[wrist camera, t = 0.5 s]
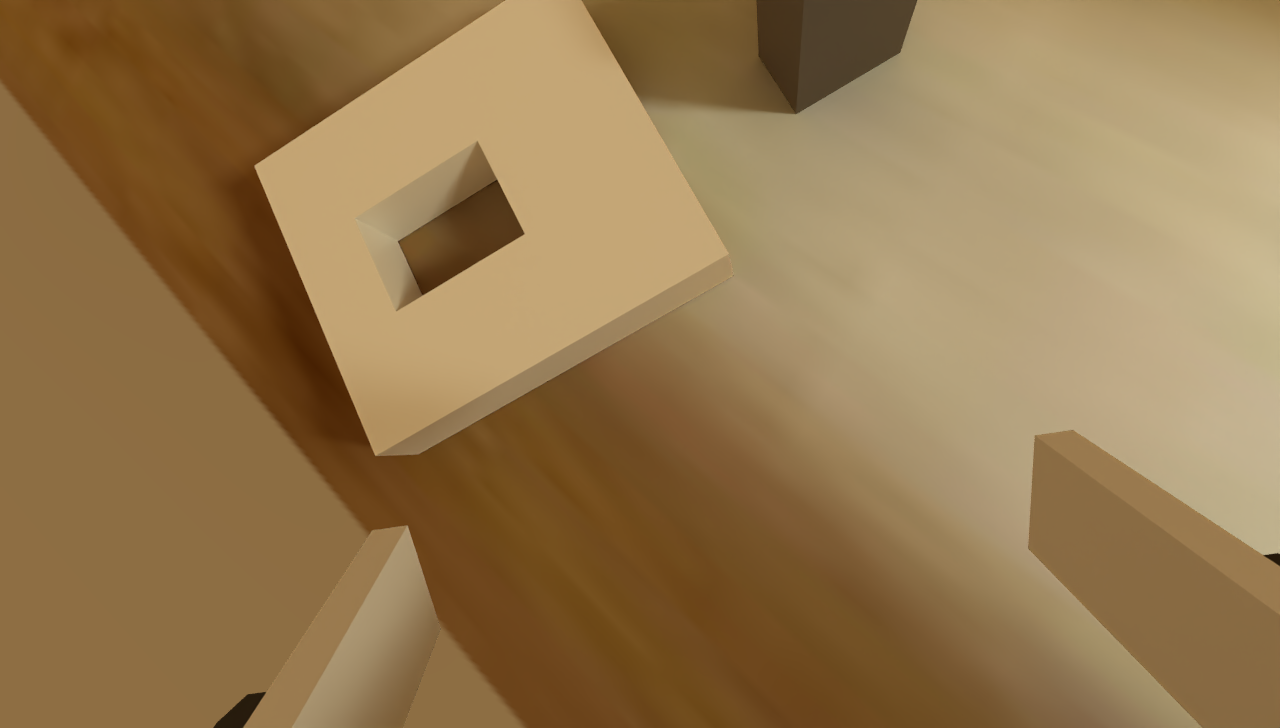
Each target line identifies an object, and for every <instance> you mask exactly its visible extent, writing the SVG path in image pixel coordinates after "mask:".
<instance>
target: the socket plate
mask: <svg viewBox="0 0 1280 728" xmlns="http://www.w3.org/2000/svg"><path fill="white" fill-rule="evenodd" d="M254 167H255V169H256V171H257V174H258V176H259V179H260V181H261V183H262V186H263V188H264V190H265V193H266V195H267V198H268V200H269V202H270V205H271V207H272V210H273V212H274V214H275V217H276V219H277V222H278V224H279V226H280V229H281V231H282V234H283V236H284V238H285V241H286V243H287V246H288V248H289V250H290V253H291V255H292V258H293V260H294V262H295V265H296V267H297V270H298V272H299V274H300V277H301V279H302V282H303V284H304V286H305V289H306V291H307V293H308V296H309V298H310V301H311V303H312V305H313V308H314V310H315V313H316V315H317V317H318V320H319V322H320V325H321V327H322V329H323V332H324V334H325V337H326V339H327V341H328V344H329V346H330V349H331V351H332V353H333V356H334V358H335V361H336V363H337V365H338V368H339V370H340V373H341V375H342V377H343V380H344V382H345V384H346V387H347V389H348V392H349V394H350V396H351V399H352V401H353V404H354V406H355V408H356V411H357V413H358V416H359V418H360V420H361V423H362V425H363V428H364V430H365V432H366V435H367V437H368V440H369V442H370V444H371V447H372V449H373V452H374V454H375V456H388V455H414V454H420V453H422V452H423V451H425V450H427V449H429V448H431V447H432V446H434V445H436V444H438V443H439V442H441V441H443V440H445V439H446V438H448V437H450V436H452V435H453V434H455V433H457V432H459V431H461V430H462V429H464V428H466V427H468V426H469V425H471V424H473V423H475V422H476V421H478V420H480V419H482V418H484V417H485V416H487V415H489V414H491V413H492V412H494V411H496V410H498V409H499V408H501V407H503V406H505V405H506V404H508V403H510V402H512V401H514V400H515V399H517V398H519V397H521V396H522V395H524V394H526V393H528V392H529V391H531V390H533V389H535V388H536V387H538V386H540V385H542V384H544V383H545V382H547V381H549V380H551V379H552V378H554V377H556V376H558V375H559V374H561V373H563V372H565V371H567V370H568V369H570V368H572V367H574V366H575V365H577V364H579V363H581V362H582V361H584V360H586V359H588V358H589V357H591V356H593V355H595V354H597V353H598V352H600V351H602V350H604V349H605V348H607V347H609V346H611V345H612V344H614V343H616V342H618V341H619V340H621V339H623V338H625V337H627V336H628V335H630V334H632V333H634V332H635V331H637V330H639V329H641V328H642V327H644V326H646V325H648V324H650V323H651V322H653V321H655V320H657V319H658V318H660V317H662V316H664V315H665V314H667V313H669V312H671V311H672V310H674V309H676V308H678V307H680V306H681V305H683V304H685V303H687V302H688V301H690V300H692V299H694V298H695V297H697V296H699V295H701V294H703V293H704V292H706V291H708V290H710V289H711V288H713V287H715V286H717V285H718V284H720V283H722V282H724V281H725V280H727V279H729V278H731V277H733V276H734V274H733V270H732V265H731V261H730V257H729V254H728V252H727V250H726V248H725V247H724V245H723V243H722V242H721V240H720V238H719V236H718V235H717V233H716V231H715V229H714V228H713V226H712V224H711V223H710V221H709V219H708V217H707V216H706V214H705V212H704V211H703V209H702V207H701V205H700V204H699V202H698V200H697V198H696V197H695V195H694V193H693V192H692V190H691V188H690V186H689V185H688V183H687V181H686V180H685V178H684V176H683V174H682V173H681V171H680V169H679V167H678V166H677V164H676V162H675V161H674V159H673V157H672V155H671V154H670V152H669V150H668V148H667V147H666V145H665V143H664V142H663V140H662V138H661V136H660V135H659V133H658V131H657V130H656V128H655V126H654V124H653V123H652V121H651V119H650V117H649V116H648V114H647V112H646V111H645V109H644V107H643V105H642V104H641V102H640V100H639V99H638V97H637V95H636V93H635V92H634V90H633V88H632V86H631V85H630V83H629V81H628V80H627V78H626V76H625V74H624V73H623V71H622V69H621V68H620V66H619V64H618V62H617V61H616V59H615V57H614V55H613V54H612V52H611V50H610V49H609V47H608V45H607V43H606V42H605V40H604V38H603V37H602V35H601V33H600V31H599V30H598V28H597V26H596V24H595V23H594V21H593V19H592V18H591V16H590V14H589V12H588V11H587V9H586V7H585V6H584V4H583V2H582V0H505V1H504V2H502V3H501V4H499V5H498V6H496V7H495V8H493V9H492V10H490V11H489V12H487V13H486V14H484V15H483V16H481V17H479V18H478V19H476V20H475V21H473V22H472V23H470V24H469V25H467V26H466V27H464V28H463V29H461V30H460V31H458V32H457V33H455V34H454V35H452V36H451V37H449V38H448V39H446V40H445V41H443V42H442V43H440V44H438V45H437V46H435V47H434V48H432V49H431V50H429V51H428V52H426V53H425V54H423V55H422V56H420V57H419V58H417V59H416V60H414V61H413V62H411V63H410V64H408V65H407V66H405V67H404V68H402V69H401V70H399V71H397V72H396V73H394V74H393V75H391V76H390V77H388V78H387V79H385V80H384V81H382V82H381V83H379V84H378V85H376V86H375V87H373V88H372V89H370V90H369V91H367V92H366V93H364V94H363V95H361V96H360V97H358V98H357V99H355V100H353V101H352V102H350V103H349V104H347V105H346V106H344V107H343V108H341V109H340V110H338V111H337V112H335V113H334V114H332V115H331V116H329V117H328V118H326V119H325V120H323V121H322V122H320V123H319V124H317V125H316V126H314V127H312V128H311V129H309V130H308V131H306V132H305V133H303V134H302V135H300V136H299V137H297V138H296V139H294V140H293V141H291V142H290V143H288V144H287V145H285V146H284V147H282V148H281V149H279V150H278V151H276V152H275V153H273V154H271V155H270V156H268V157H267V158H265V159H264V160H262V161H261V162H259V163H258V164H256V165H255V166H254ZM496 180H498V182H499V184H500V186H501V188H502V190H503V192H504V194H505V196H506V198H507V200H508V202H509V203H510V205H511V207H512V209H513V211H514V213H515V215H516V217H517V219H518V221H519V223H520V225H521V227H522V229H523V231H524V233H525V234H524V235H523V236H521V237H519V238H518V239H516V240H514V241H513V242H511V243H509V244H508V245H506V246H504V247H503V248H501V249H499V250H498V251H496V252H494V253H493V254H491V255H489V256H488V257H486V258H484V259H483V260H481V261H479V262H478V263H476V264H474V265H473V266H471V267H469V268H468V269H466V270H464V271H463V272H461V273H459V274H458V275H456V276H454V277H453V278H451V279H450V280H448V281H446V282H445V283H443V284H441V285H440V286H438V287H436V288H435V289H433V290H431V291H430V292H428V293H426V294H425V295H422V293H421V291H420V289H419V287H418V285H417V282H416V280H415V278H414V276H413V274H412V271H411V269H410V267H409V265H408V263H407V261H406V258H405V256H404V254H403V252H402V250H401V248H400V245H399V243H398V241H399V240H400V239H402V238H404V237H405V236H407V235H408V234H410V233H412V232H413V231H415V230H417V229H418V228H420V227H421V226H423V225H425V224H426V223H428V222H429V221H431V220H433V219H434V218H436V217H438V216H439V215H441V214H442V213H444V212H446V211H447V210H449V209H450V208H452V207H454V206H455V205H457V204H459V203H460V202H462V201H463V200H465V199H467V198H468V197H470V196H471V195H473V194H475V193H476V192H478V191H480V190H481V189H483V188H484V187H486V186H488V185H489V184H491V183H492V182H494V181H496Z"/></svg>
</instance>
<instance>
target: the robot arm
mask: <svg viewBox="0 0 1280 728" xmlns="http://www.w3.org/2000/svg"><path fill="white" fill-rule="evenodd" d="M1028 549H1029V550H1030V551H1031V552H1032V553H1033V554H1034V555H1035V556H1036V557H1037V558H1038V559H1039V560H1040V561H1041V562H1042V563H1043V564H1044V565H1045V566H1046V567H1047V568H1048V569H1049V570H1050V571H1051V572H1052V573H1053V574H1054V575H1055V576H1056V578H1057V579H1058V580H1059V581H1060V582H1061V583H1062V584H1063V585H1064V586H1065V587H1066V588H1067V589H1068V590H1069V591H1070V592H1071V593H1072V594H1073V595H1074V596H1075V597H1076V598H1077V599H1078V600H1079V601H1080V602H1081V603H1082V604H1083V605H1084V606H1085V607H1086V608H1087V609H1088V610H1089V611H1090V612H1091V613H1092V615H1093V616H1094V617H1095V618H1096V619H1097V620H1098V621H1099V622H1100V623H1101V624H1102V625H1103V626H1104V627H1105V628H1106V629H1107V630H1108V631H1109V632H1110V633H1111V634H1112V635H1113V636H1114V637H1115V638H1116V639H1117V640H1118V641H1119V642H1120V643H1121V644H1122V645H1123V646H1124V647H1125V648H1126V649H1127V650H1128V652H1129V653H1130V654H1131V655H1132V656H1133V657H1134V658H1135V659H1136V660H1137V661H1138V662H1139V663H1140V664H1141V665H1142V666H1143V667H1144V668H1145V669H1146V670H1147V671H1148V672H1149V673H1150V674H1151V675H1152V676H1153V677H1154V678H1155V679H1156V680H1157V681H1158V682H1159V683H1160V684H1161V685H1162V686H1163V687H1164V689H1165V690H1166V691H1167V692H1168V693H1169V694H1170V695H1171V696H1172V697H1173V698H1174V699H1175V700H1176V701H1177V702H1178V703H1179V704H1180V705H1181V706H1182V707H1183V708H1184V709H1185V710H1186V711H1187V712H1188V713H1189V714H1190V715H1191V716H1192V717H1193V718H1194V719H1195V720H1196V721H1197V722H1198V723H1199V724H1200V725H1201V727H1202V728H1280V554H1279V553H1276V554H1269V555H1262V554H1260V553H1259V552H1257V551H1256V550H1254V549H1253V548H1251V547H1250V546H1248V545H1247V544H1245V543H1244V542H1242V541H1241V540H1239V539H1238V538H1236V537H1235V536H1233V535H1232V534H1230V533H1228V532H1227V531H1225V530H1224V529H1222V528H1221V527H1219V526H1218V525H1216V524H1215V523H1213V522H1212V521H1210V520H1209V519H1207V518H1206V517H1204V516H1203V515H1201V514H1200V513H1198V512H1197V511H1195V510H1194V509H1192V508H1190V507H1189V506H1187V505H1186V504H1184V503H1183V502H1181V501H1180V500H1178V499H1177V498H1175V497H1174V496H1172V495H1171V494H1169V493H1168V492H1166V491H1165V490H1163V489H1162V488H1160V487H1159V486H1157V485H1156V484H1154V483H1152V482H1151V481H1149V480H1148V479H1146V478H1145V477H1143V476H1142V475H1140V474H1139V473H1137V472H1136V471H1134V470H1133V469H1131V468H1130V467H1128V466H1127V465H1125V464H1124V463H1122V462H1121V461H1119V460H1118V459H1116V458H1114V457H1113V456H1111V455H1110V454H1108V453H1107V452H1105V451H1104V450H1102V449H1101V448H1099V447H1098V446H1096V445H1095V444H1093V443H1092V442H1090V441H1089V440H1087V439H1086V438H1084V437H1083V436H1081V435H1080V434H1078V433H1076V432H1075V431H1073V430H1070V431H1063V432H1056V433H1049V434H1042V435H1035V442H1034V459H1033V476H1032V493H1031V510H1030V527H1029V544H1028ZM440 630H441V628H440V625H439V622H438V619H437V616H436V613H435V610H434V607H433V604H432V600H431V597H430V594H429V591H428V588H427V585H426V582H425V579H424V576H423V572H422V569H421V566H420V563H419V560H418V557H417V554H416V551H415V548H414V544H413V541H412V538H411V535H410V532H409V529H408V526H400V527H393V528H386V529H379V530H372V531H371V533H370V535H369V536H368V538H367V539H366V541H365V542H364V544H363V545H362V547H361V548H360V550H359V551H358V553H357V554H356V556H355V558H354V559H353V561H352V562H351V564H350V565H349V567H348V568H347V570H346V571H345V573H344V574H343V576H342V577H341V579H340V580H339V582H338V584H337V585H336V587H335V588H334V590H333V592H332V593H331V594H330V596H329V598H328V599H327V600H326V602H325V603H324V605H323V606H322V608H321V609H320V611H319V613H318V614H317V616H316V617H315V619H314V620H313V622H312V623H311V625H310V626H309V628H308V629H307V631H306V632H305V634H304V636H303V637H302V639H301V640H300V642H299V643H298V645H297V646H296V648H295V649H294V651H293V652H292V654H291V655H290V657H289V658H288V660H287V662H286V663H285V665H284V666H283V668H282V669H281V671H280V672H279V674H278V675H277V677H276V678H275V680H274V681H273V683H272V684H271V686H270V688H269V689H268V691H267V692H263V693H255V694H248V695H247V696H246V697H244V699H242V700H241V701H240V702H239V703H238V704H237V705H236V706H235V707H233V709H232V710H230V711H229V712H228V713H227V714H226V715H225V716H224V717H223V718H222V719H221V720H220V721H218V722H217V723H216V725H215V726H214V728H403V726H404V723H405V721H406V718H407V716H408V713H409V711H410V708H411V705H412V703H413V700H414V697H415V695H416V692H417V690H418V687H419V684H420V682H421V679H422V677H423V674H424V671H425V669H426V666H427V663H428V661H429V658H430V656H431V653H432V650H433V648H434V645H435V643H436V640H437V637H438V635H439V632H440Z"/></svg>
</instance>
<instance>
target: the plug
mask: <svg viewBox="0 0 1280 728" xmlns="http://www.w3.org/2000/svg"><path fill="white" fill-rule="evenodd" d="M916 2H917V0H757V23H758V49H759V57H760V58H761V60H762V62H763V63H764V65H765V66H766V68H767V69H768V71H769V72H770V74H771V76H772V77H773V79H774V80H775V82H776V83H777V85H778V87H779V88H780V90H781V91H782V93H783V94H784V96H785V98H786V99H787V101H788V102H789V104H790V105H791V107H792V108H793V110H794V112H795V113H796V114H797V113H799V112H800V111H802V110H804V109H806V108H807V107H809V106H811V105H812V104H814V103H816V102H817V101H819V100H821V99H822V98H824V97H826V96H827V95H829V94H831V93H832V92H834V91H836V90H838V89H839V88H841V87H843V86H844V85H846V84H848V83H849V82H851V81H853V80H854V79H856V78H858V77H859V76H861V75H863V74H865V73H866V72H868V71H870V70H871V69H873V68H875V67H876V66H878V65H880V64H881V63H883V62H885V61H886V60H888V59H890V58H892V57H893V56H895V55H897V54H898V53H900V51H901V48H902V45H903V42H904V39H905V36H906V33H907V30H908V27H909V24H910V21H911V18H912V15H913V12H914V9H915V5H916Z"/></svg>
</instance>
